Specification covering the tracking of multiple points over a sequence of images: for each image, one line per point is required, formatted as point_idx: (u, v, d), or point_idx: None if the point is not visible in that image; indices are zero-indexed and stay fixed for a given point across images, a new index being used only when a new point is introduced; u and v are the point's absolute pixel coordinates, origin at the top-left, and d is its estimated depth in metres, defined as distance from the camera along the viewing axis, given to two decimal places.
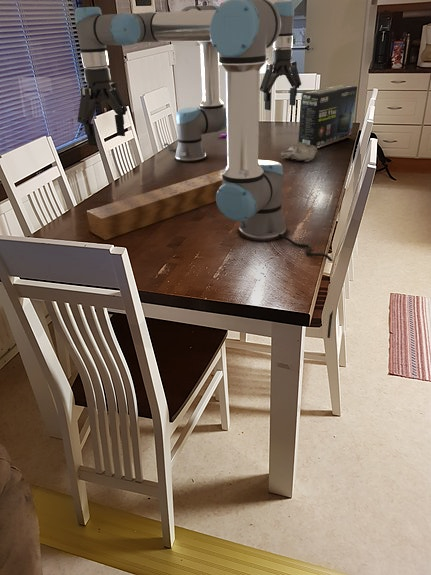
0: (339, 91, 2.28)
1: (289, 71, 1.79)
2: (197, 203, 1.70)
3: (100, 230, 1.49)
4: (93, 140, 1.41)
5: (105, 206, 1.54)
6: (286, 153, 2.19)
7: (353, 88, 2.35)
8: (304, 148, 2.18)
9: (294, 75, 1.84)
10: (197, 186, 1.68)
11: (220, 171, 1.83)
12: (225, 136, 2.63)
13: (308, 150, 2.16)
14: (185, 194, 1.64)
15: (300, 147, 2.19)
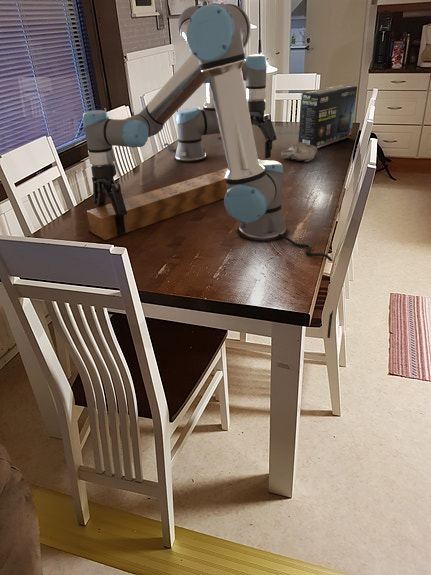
0: (339, 91, 2.28)
1: None
2: (197, 203, 1.70)
3: (100, 230, 1.49)
4: None
5: (105, 206, 1.54)
6: (286, 153, 2.19)
7: (353, 88, 2.35)
8: (304, 148, 2.18)
9: None
10: (197, 186, 1.68)
11: (220, 171, 1.83)
12: None
13: (308, 150, 2.16)
14: (185, 194, 1.64)
15: (300, 147, 2.19)
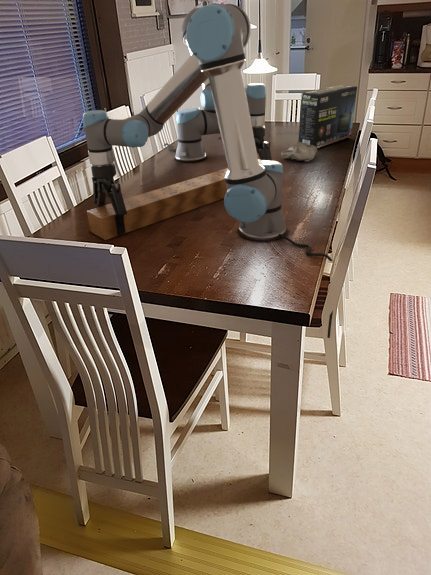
0: (339, 91, 2.28)
1: None
2: (197, 203, 1.70)
3: (100, 230, 1.49)
4: None
5: (105, 206, 1.54)
6: (286, 153, 2.19)
7: (353, 88, 2.35)
8: (304, 148, 2.18)
9: None
10: (197, 186, 1.68)
11: (220, 171, 1.83)
12: None
13: (308, 150, 2.16)
14: (185, 194, 1.64)
15: (300, 147, 2.19)
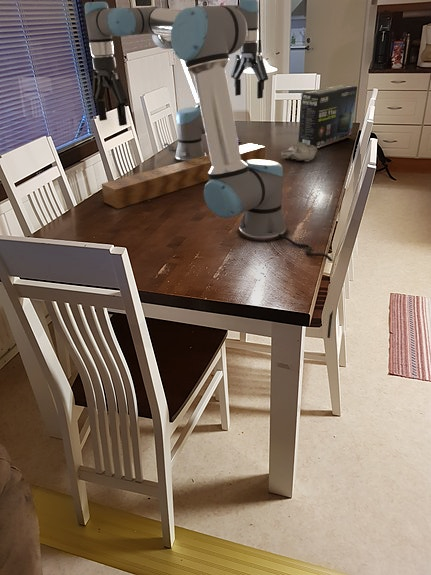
0: (339, 91, 2.28)
1: None
2: (197, 180, 1.93)
3: (114, 200, 1.72)
4: None
5: (117, 180, 1.78)
6: (286, 153, 2.19)
7: (353, 88, 2.35)
8: (304, 148, 2.18)
9: (237, 67, 2.01)
10: (197, 165, 1.92)
11: None
12: None
13: (308, 150, 2.16)
14: (186, 171, 1.88)
15: (300, 147, 2.19)
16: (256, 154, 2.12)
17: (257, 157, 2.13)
